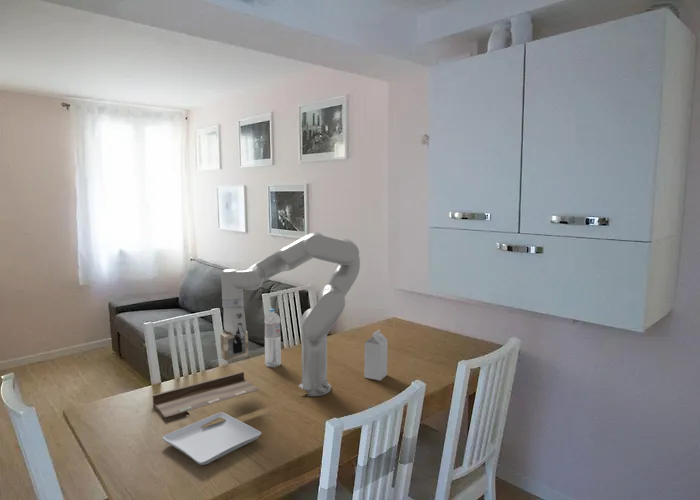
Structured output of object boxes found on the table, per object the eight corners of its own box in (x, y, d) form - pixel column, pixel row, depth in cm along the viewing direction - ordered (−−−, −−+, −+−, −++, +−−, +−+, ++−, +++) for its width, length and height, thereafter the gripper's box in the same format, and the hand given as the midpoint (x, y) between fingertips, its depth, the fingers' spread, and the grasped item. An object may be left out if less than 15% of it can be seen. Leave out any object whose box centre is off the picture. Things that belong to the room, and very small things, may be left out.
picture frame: (248, 355, 168) (247, 331, 167) (225, 360, 162) (224, 336, 161) (243, 352, 171) (243, 329, 170) (221, 357, 165) (220, 334, 164)
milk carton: (364, 377, 183) (364, 332, 181) (371, 371, 189) (372, 328, 187) (380, 381, 180) (380, 335, 177) (387, 375, 186) (387, 330, 184)
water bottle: (272, 369, 191) (271, 312, 188) (261, 365, 195) (260, 309, 192) (284, 364, 197) (283, 308, 194) (273, 360, 201) (272, 306, 198)
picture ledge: (259, 393, 168) (259, 383, 167) (165, 421, 147) (165, 409, 146) (243, 381, 179) (242, 371, 178) (153, 405, 158) (152, 394, 157)
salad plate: (221, 419, 149) (221, 409, 149) (263, 442, 136) (263, 431, 135) (160, 446, 133) (160, 436, 132) (201, 475, 119) (200, 463, 119)
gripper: (252, 305, 160) (254, 354, 162) (232, 297, 173) (234, 343, 175) (233, 308, 155) (235, 359, 157) (214, 300, 168) (216, 347, 170)
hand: (234, 350), depth 166 cm, fingers closed on picture frame, 4 cm apart
